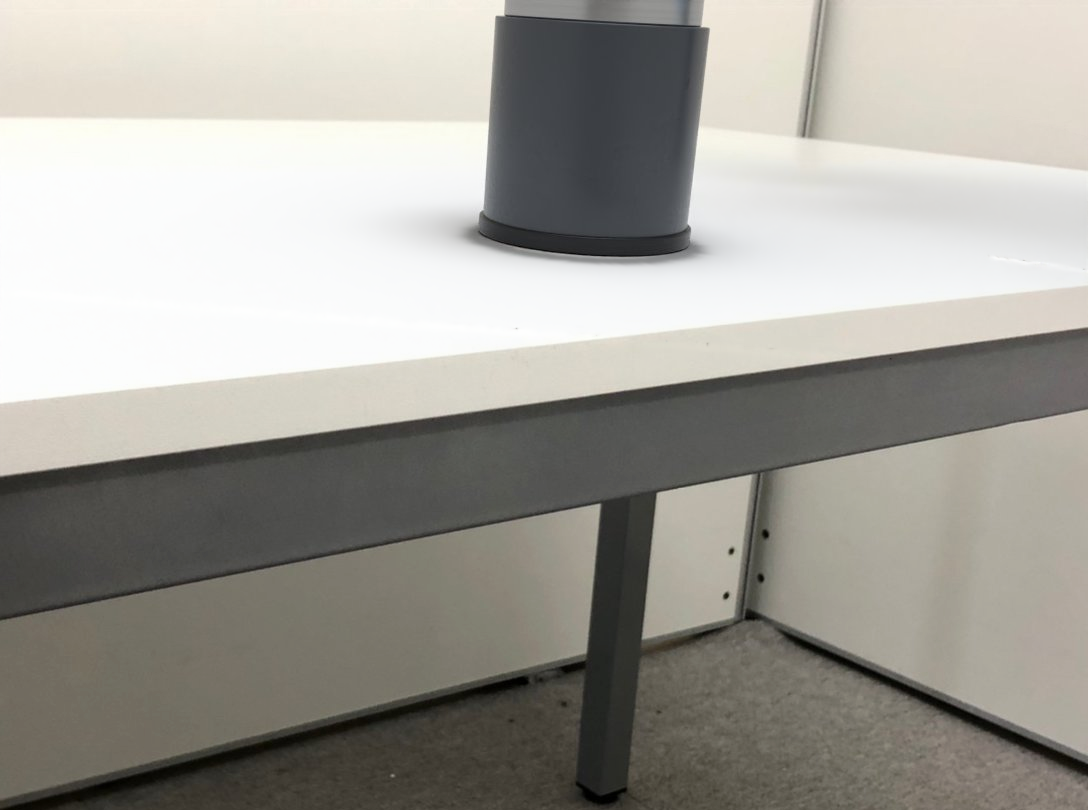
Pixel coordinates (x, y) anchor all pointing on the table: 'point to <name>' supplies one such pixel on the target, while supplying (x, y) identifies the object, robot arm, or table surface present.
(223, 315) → the table surface
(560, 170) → the dark grey upright cylinder
